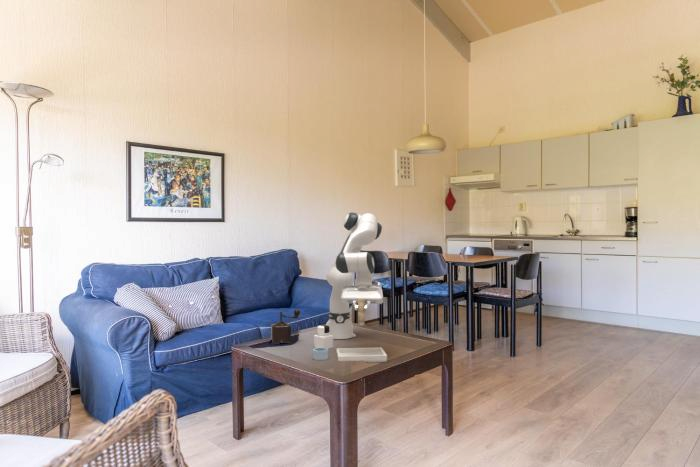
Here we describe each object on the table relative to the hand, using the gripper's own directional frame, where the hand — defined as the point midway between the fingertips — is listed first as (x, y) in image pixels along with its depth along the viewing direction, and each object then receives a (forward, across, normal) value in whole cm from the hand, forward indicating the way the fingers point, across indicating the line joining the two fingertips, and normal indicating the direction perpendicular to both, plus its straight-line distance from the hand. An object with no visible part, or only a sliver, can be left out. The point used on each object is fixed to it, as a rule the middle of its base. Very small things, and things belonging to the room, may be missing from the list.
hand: (360, 309), depth 215 cm
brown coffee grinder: (-4, -45, +37) cm, 58 cm away
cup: (+20, -18, +12) cm, 30 cm away
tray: (+16, 0, +16) cm, 23 cm away
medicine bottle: (+6, -21, +27) cm, 35 cm away
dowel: (+5, 0, +5) cm, 7 cm away
